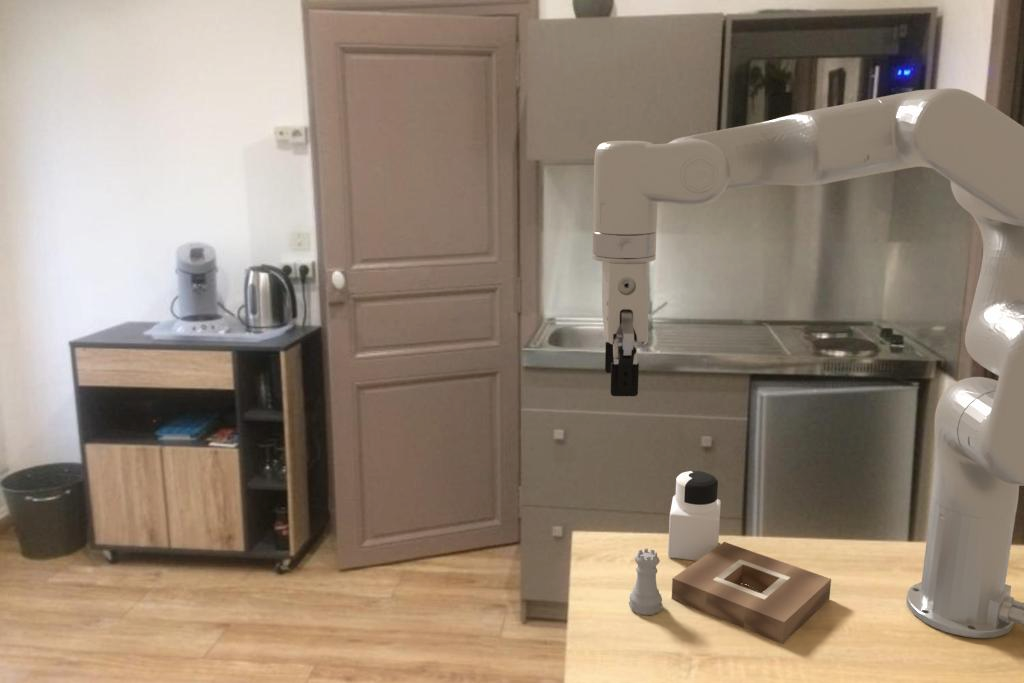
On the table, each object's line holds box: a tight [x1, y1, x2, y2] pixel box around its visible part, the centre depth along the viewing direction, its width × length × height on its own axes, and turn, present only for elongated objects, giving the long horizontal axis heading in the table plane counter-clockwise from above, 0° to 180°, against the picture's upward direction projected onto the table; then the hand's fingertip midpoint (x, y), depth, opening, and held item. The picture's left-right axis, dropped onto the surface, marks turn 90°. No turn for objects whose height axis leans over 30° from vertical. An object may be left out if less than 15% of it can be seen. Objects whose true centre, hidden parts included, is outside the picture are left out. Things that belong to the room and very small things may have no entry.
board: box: [671, 541, 832, 645], centre depth 119 cm, size 16×14×3 cm
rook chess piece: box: [628, 548, 663, 616], centre depth 116 cm, size 4×4×8 cm
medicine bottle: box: [667, 470, 722, 562], centre depth 131 cm, size 7×7×12 cm
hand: (620, 383), depth 110 cm, fingers open, 9 cm apart
